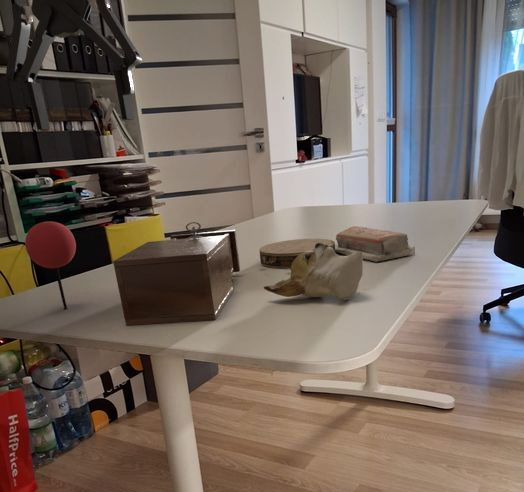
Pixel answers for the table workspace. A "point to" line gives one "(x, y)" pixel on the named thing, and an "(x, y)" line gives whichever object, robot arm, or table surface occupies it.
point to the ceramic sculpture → (322, 274)
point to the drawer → (230, 241)
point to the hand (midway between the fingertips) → (85, 125)
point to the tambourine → (288, 251)
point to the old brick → (373, 243)
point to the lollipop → (51, 247)
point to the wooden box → (175, 280)
